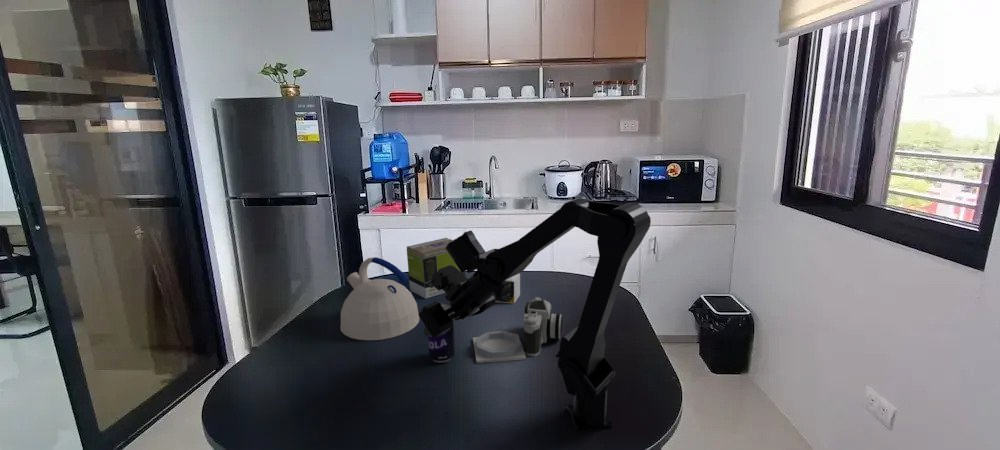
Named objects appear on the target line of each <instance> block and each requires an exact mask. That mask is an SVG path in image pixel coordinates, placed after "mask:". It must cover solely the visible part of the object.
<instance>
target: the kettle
mask: <svg viewBox="0 0 1000 450" xmlns="http://www.w3.org/2000/svg"><path fill="white" fill-rule="evenodd" d="M371 263H374V264H377V265H379V266H381V267H383V268H385V269H387V270H389V272H390V273H392V274H394V275H395V276H396V278H397V279H398V280H399V281H400V282H401V283H403V282H406V281H409V277H407V276H406V273H404V272H403V271H402V270H401V269H400V268H398V267H397V266H396V265H394V264H393V263H391V262H389V261H388V260H385V259H383V258H380V257H375V256H374V257H368V258H366V259H365V260H363V261H362V263H361V264H360V267H359V270H358V272H356V271H354V272H352V273H350V274H349V275H348V276H347V278H346V281H347V282H348V283H349V284H350V285H351V287H352V288H353V290H351V292H350V293H349V294H348V296H347V297H346V298H345V300H344V302H343V304H342V308H341V310H340V332H341V333H342V334H343V335H345V336H346V337H348V338H351V339H354V340H359V341H381V340H388V339H393V338H395V337H396V338H397V337H399V336H402V335H404V334H406V333H408V332H410V331H411V330H413V329H414V328H415V327H416V326H417V325H418V324H419V322H420V317H419V315H418V314H419V309H418V303H417V302H416V300H415V297H414V295H413V294H412V291H411V290H410V289H409V290H408V289H407V287H406V286H404V285H403V284H401V283H399V282H398V281H396V280H393V279H386V278H376V279H375V278H374V279H369V276H368V267H369V265H370V264H371Z"/></svg>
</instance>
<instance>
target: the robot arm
mask: <svg viewBox="0 0 1000 450" xmlns="http://www.w3.org/2000/svg"><path fill="white" fill-rule="evenodd" d="M651 219H652V218H651V216H650V214H649V213H648V211H647V210H646V209H645V208H644V207H643V205H640V204H639V203H635V202H629V203H625V204H618V203H611V202H602V201H593V200H589V199H584V198H575V199H573V200H570V201H567V202H564V203H563V205H561V207H560V208H559V209H558V210H556V211H555V212H554V213H552V214H551V215H550V216H548V217H547V218H546V219H544V220H543V221H542V222H540V223H539V224H538V225H537V226H535V227H534V228H532V229H531V230H530V231H528V232H527V233H526V234H524V235H523V236H522V237H520V238H519V239H518V240H516V241H514V242H511V243H509V244H508V245H504V246H502V247H500V248H493V249H490V250H487V251H486V250H485V249H484V248H483V246H482V245H481V243H480V241H479V240H478V239H477V238H476V237H477V236H476V234H475V233H474V232H473V231H472V230H468V231H465V232H463V233H462V234H461V235H459V236H458V237H456V238H455V239H453V240H454V241H452V242H450V243H449V244H448V245H447V246H446V250H447V252H448V253H449V255H450V256H451V258H452V259H453V261H454V262H455V263H456V265H457V266H458V268H459V269H460V271H461V272H460V271H459V270H458V269H457V268H456V267H454V266H452V265H449V266H446V267H444V268H441V269H439V270H438V271H437V272H435V274H434V275H432V280H431V284H432V285H433V286H434V287H435V288H436V289H437V290H444V291H445V292H446V293H445V296H444V298H445V299H446V301H447V302H449V306H450V307H451V308H449V309H447V310H444V309H443V307H442V305H441V304H442V303H441V302H438V301H433V302H431V303H429V304H427V305H424V306H422V307H421V308H420V309H419V310H418V315H419V319H420V320H421V321H422V323H423V325H424V329H423V334H424V335H425V337H428V336H431V335H432V337H435V338H436V337H438V336H440V335H442V334H443V333H445V332H447V331H448V330H449V329H450V328H452V320H453V321H459V320H462V321H463V320H465V319H467V318H470V317H474V316H477V315H478V316H479V315H480V314H482V313H484V312H486V311H487V310H490V309H491V308H493V307H494V306H495V305H496V302H495V297H494V296H493V295H494V294H496V296H497V297H498V298H499V299H501V298H503V297H505V296H506V295H508V294H510V293H511V288H510V286H509V285H510V283H509V282H507V281H505V280H506V279H509V278H511V277H513V276H515V275H517V274H519V273H520V274H521V273H522V272H524V271H525V270H526V269H527V267H529V265H530V264H531V263H532V262H533V260H534V259H535V258H536V256H537V255H538V253H540V252H541V251H543V250H544V249H545V248H547V247H549V246H550V245H552V244H553V243H554V242H556V241H557V240H559V239H560V238H562V237H563V236H565V234H567V233H568V232H570V231H571V230H573V229H574V228H578V229H580V230H581V231H583V232H585V233H587V234H588V235H591V236H596V237H597V240H596V241H597V249H598V261H597V265H596V268H595V270H594V274H593V277H592V280H591V283H590V287H589V290H588V293H587V296H586V300H585V302H584V305H583V309H582V311H581V312H582V313H581V314H580V315H581V316H580V319H579V322H578V325H576V326H575V327H573V328H572V329H571V330H569V331H568V332H567V333H566V334H564V335H563V336H561V338H560V344H559V350H558V352H557V353H556V355H555V358H558V360H557V369H558V370H560V373H561V375H562V379H563V382H564V385H565V388H566V391H567V393H568V394H569V395H571V396H573V403H572V404H568V405H567V411H568V412H569V415H570V418H571V420H572V422H573V425H574V426H575V428H576V430H580V431H581V430H590V429H600V428H602V429H603V428H611V427H613V425H614V422H613V421H612V419H611V417H610V415H609V413H608V412H607V411H608V410H607V400H608V386H607V385H608V384H609V383H610V381H613V379H614V377H615V375H616V373H617V370H616V369H615V367H614V366H613V365H612V363H611V362H610V361H609V360H608V358H607V357H606V356H605V352H606V339H605V330H606V327H607V324H608V321H609V318H610V315H611V312H612V310H613V307H614V303H615V301H616V297H617V295H618V291H619V288H620V285H621V282H622V280H623V277H624V273H625V270H626V268H627V265H628V263H629V261H630V259H631V258H632V256H633V255H634V253H636V251H637V249H638V248H639V246H640V245H641V243H642V241H643V240H644V239H645V236H646V235H647V233H648V231H649V230H650V227H651V224H652V223H651V221H652V220H651ZM463 272H465V273H466V272H467V273H468V274H470V273H472V275H471V276H470V277H469V278H468V277H467V276H466V274H465V275H464V274H463ZM473 272H474V273H473ZM465 276H466V277H465ZM451 314H452V315H451ZM449 315H450V316H449Z"/></svg>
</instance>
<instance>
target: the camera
mask: <svg viewBox="0 0 1000 450" xmlns="http://www.w3.org/2000/svg"><path fill="white" fill-rule="evenodd" d="M551 311H552V304H551V302H549V301H547V300H546V299H542V298H541V297H537V296H536V297H535V298H534V299H532V300H531V301H530V302H528V301H527V302H526V303H525V305H524V313H523V314H524V315H523V350H524V353H525V355H526V356H528V357H530V356H531V357H536V356H538V355H540V352H541V348H542V345H543V344H547V341H548V339H556V340H561V339H562V333H563V331H562V330H563V315H562V314H561V313H555V314H554V313H551Z"/></svg>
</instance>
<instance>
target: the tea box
mask: <svg viewBox="0 0 1000 450" xmlns="http://www.w3.org/2000/svg"><path fill="white" fill-rule="evenodd" d="M454 240H455V239H451V238H448V237H444V238H439V239H436V240H431V241H426V242H422V243H417V244H412V245H409V246H408V245H407V246H406V257H407V258H406V259H407V267H408V268H407V270H408V271H407V272H408V282H409V283H408V284H409V291H410V292H411V293H414V294H417V295H418V296H420V297H422V298H423V299H425V300H427V299H430V298H433V297H435V296H436V297H437V296H440V295H443V294H447V293H446V292H445V291H444V290H437V289H436V288H435V287H434V286H433V285H432V284H431V280H432V275H434V274H435V272H437V271H438V270H439V269H441V268H444V267H446V266H449V265H452V266H454V267H456V268H457V269H458V270H459V271H460V269H459V268H458V266H457V265H456V263H455V262H454V261H453V259H452V258H451V256H450V255H449V253H448V252H447V250H446V246H447V245H448V244H449V243H450V242H452V241H454ZM460 272H461V271H460ZM463 274H464V275H465V277H466V278H467V276H466V271H465V272H463Z"/></svg>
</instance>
